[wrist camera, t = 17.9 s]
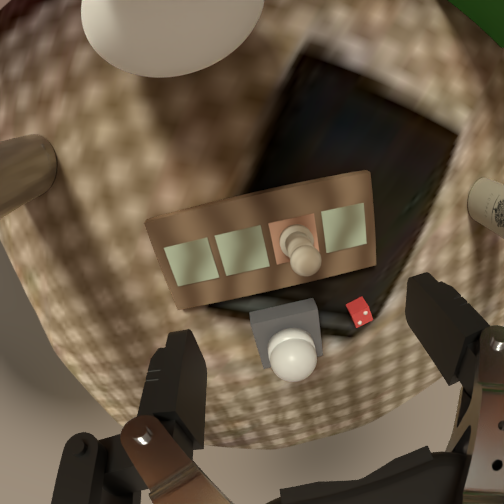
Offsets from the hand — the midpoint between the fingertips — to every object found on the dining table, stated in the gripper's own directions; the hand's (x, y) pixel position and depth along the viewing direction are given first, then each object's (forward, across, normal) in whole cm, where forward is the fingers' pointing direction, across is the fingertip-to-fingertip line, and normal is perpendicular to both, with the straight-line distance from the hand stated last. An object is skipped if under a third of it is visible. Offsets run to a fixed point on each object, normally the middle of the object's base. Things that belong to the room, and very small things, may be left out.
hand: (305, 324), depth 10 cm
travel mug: (+30, -38, +11) cm, 50 cm away
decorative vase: (+30, +4, -21) cm, 37 cm away
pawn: (+28, -4, +10) cm, 30 cm away
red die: (+30, -12, +25) cm, 41 cm away
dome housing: (+30, 0, +26) cm, 40 cm away
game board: (+30, 0, +10) cm, 32 cm away
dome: (+27, 0, +26) cm, 37 cm away
